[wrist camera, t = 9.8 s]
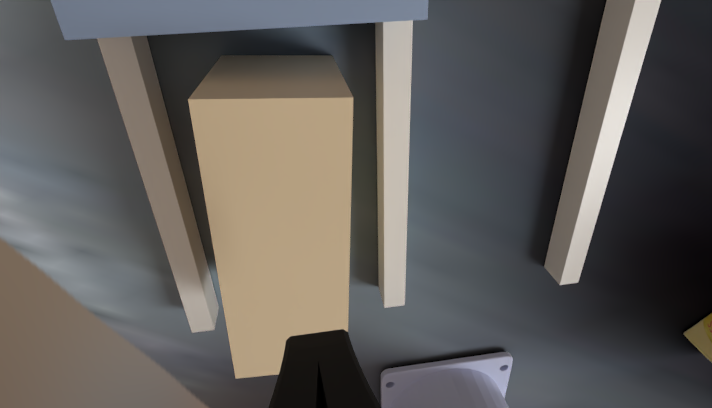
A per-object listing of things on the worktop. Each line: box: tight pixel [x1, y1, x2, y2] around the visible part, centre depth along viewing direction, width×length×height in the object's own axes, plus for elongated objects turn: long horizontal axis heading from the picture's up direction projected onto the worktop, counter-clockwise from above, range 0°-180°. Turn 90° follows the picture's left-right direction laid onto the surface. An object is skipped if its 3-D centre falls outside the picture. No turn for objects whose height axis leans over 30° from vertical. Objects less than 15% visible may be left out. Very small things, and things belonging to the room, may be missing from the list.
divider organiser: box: [50, 0, 661, 333], centre depth 16 cm, size 14×19×4 cm
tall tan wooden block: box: [188, 55, 353, 379], centre depth 15 cm, size 10×4×6 cm, turn 178°
